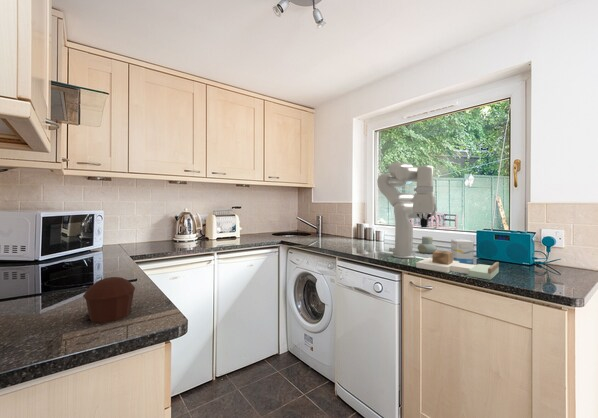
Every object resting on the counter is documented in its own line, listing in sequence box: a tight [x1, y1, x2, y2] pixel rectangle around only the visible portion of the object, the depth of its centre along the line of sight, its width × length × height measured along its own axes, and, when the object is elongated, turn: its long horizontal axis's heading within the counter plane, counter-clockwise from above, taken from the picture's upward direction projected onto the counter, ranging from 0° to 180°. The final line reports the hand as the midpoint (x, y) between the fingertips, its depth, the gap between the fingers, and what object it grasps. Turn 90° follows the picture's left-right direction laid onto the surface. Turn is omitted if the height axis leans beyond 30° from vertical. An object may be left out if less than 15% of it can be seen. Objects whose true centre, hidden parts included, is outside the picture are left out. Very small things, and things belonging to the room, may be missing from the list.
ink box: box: [450, 238, 475, 265], centre depth 148 cm, size 8×8×12 cm
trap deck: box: [415, 257, 500, 281], centre depth 131 cm, size 30×18×4 cm, turn 46°
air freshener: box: [417, 236, 437, 255], centre depth 175 cm, size 11×8×10 cm
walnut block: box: [431, 249, 453, 265], centre depth 135 cm, size 7×7×5 cm
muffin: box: [82, 276, 136, 324], centre depth 74 cm, size 12×11×10 cm
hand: (423, 227), depth 141 cm, fingers closed
